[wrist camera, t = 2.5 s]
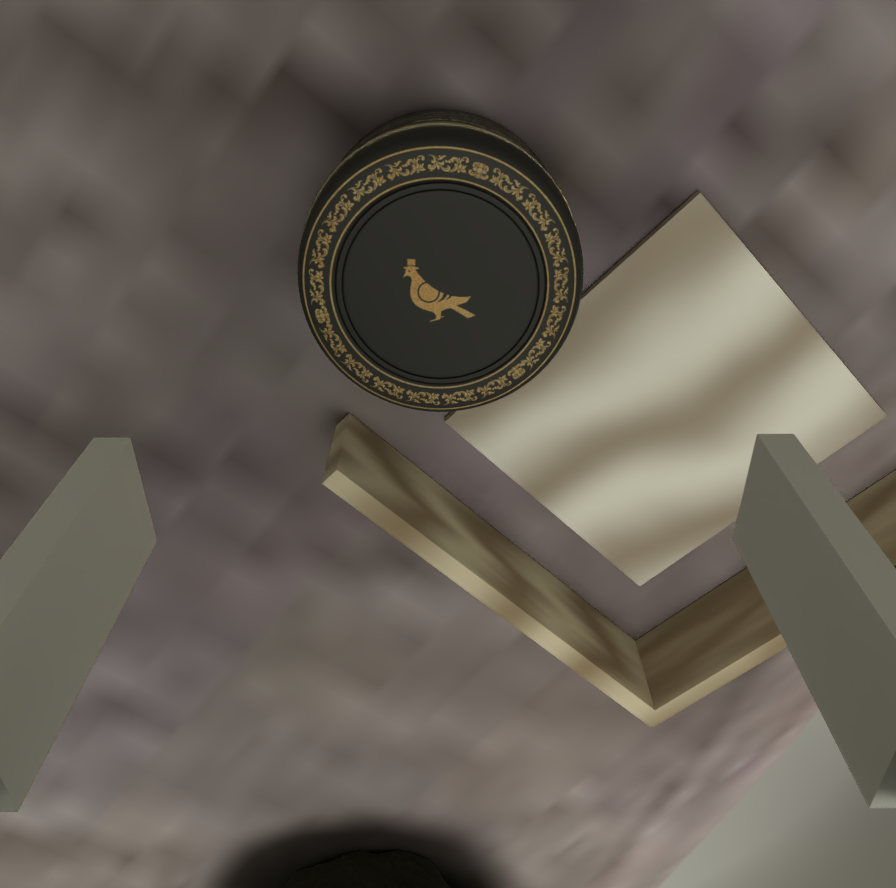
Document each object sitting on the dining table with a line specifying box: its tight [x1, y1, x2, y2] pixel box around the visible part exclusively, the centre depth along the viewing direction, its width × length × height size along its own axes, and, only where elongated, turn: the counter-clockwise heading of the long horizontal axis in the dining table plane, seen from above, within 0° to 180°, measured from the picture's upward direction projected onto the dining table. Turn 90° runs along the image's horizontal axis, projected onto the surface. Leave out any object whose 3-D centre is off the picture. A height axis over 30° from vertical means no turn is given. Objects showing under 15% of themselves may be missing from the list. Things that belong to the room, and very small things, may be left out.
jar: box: [298, 110, 583, 412], centre depth 29 cm, size 10×10×8 cm
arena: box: [322, 191, 896, 728], centre depth 36 cm, size 23×20×5 cm
